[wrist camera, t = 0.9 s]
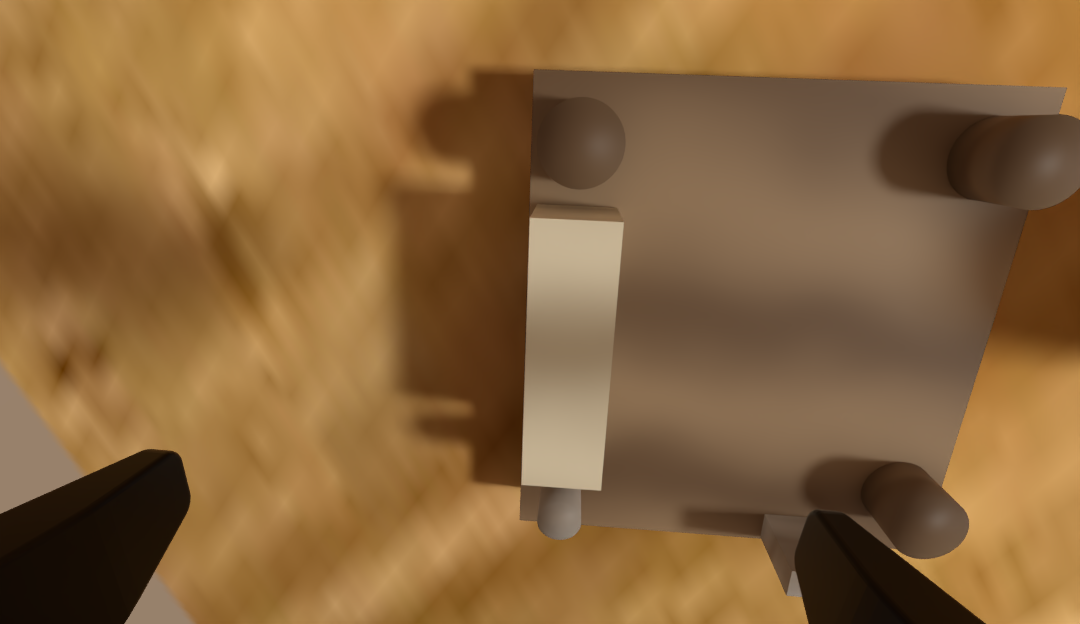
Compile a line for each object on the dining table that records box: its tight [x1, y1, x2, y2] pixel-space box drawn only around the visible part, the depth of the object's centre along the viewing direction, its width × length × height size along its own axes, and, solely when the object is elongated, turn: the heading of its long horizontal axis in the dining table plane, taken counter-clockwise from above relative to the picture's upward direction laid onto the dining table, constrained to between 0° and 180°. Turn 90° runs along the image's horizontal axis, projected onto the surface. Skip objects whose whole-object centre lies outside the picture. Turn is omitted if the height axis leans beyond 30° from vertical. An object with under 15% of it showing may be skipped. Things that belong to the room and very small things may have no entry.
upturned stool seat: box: [520, 69, 1080, 597], centre depth 18 cm, size 16×15×5 cm
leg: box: [521, 204, 624, 491], centre depth 17 cm, size 8×2×3 cm, turn 178°
